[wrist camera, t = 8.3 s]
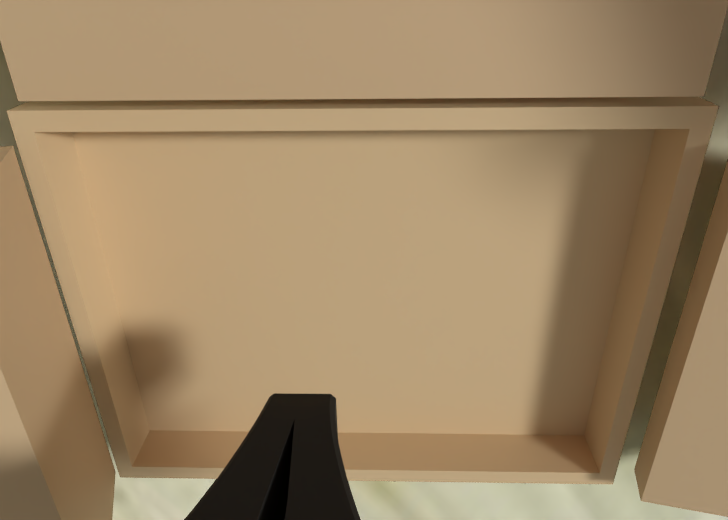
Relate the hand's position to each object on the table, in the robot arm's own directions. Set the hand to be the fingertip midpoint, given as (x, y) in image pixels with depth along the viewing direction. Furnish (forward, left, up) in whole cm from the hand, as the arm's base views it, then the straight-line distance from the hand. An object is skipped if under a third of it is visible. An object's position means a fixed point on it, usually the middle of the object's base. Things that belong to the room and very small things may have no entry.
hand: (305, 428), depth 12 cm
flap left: (0, +7, -3) cm, 8 cm away
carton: (+2, -1, -6) cm, 6 cm away
